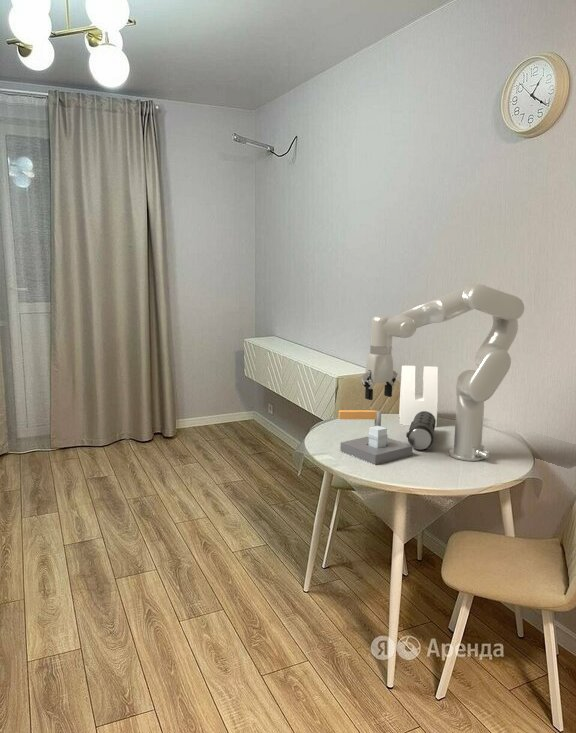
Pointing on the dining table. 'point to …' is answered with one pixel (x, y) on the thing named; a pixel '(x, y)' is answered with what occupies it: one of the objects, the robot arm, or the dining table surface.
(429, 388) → the white u-shaped block
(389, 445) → the socket block
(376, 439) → the plug
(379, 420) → the try square
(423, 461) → the dining table surface
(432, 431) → the muzzle brake
